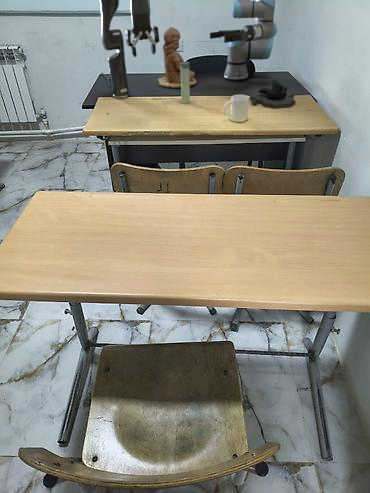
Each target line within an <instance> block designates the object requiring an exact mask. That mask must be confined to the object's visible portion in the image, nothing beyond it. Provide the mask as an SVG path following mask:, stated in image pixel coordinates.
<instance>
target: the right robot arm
mask: <svg viewBox="0 0 370 493" xmlns="http://www.w3.org/2000/svg"><path fill="white" fill-rule="evenodd" d="M231 10H232V11H231V16H232V18H233V19H240V20H241V19H254V23H253V24H246V25H244V26H243V27H242V28H241V29H229V30H228V29H227V30H225V29H223V30H221V29H219V30H218V31H212V32H209V39H210V40H212V39H222V38H223V43H224V44H227V59H226V60H227V61H226V62H227V63H226V67H225V70H224V73H223V79H224V80H227V81H231V82H241V81H245V80H247V79H248V78H249V72H248V67H247V61H250V60H251V61H253V60H254V61H255V60H256V61H258V60H259V61H262V60H268V59H269V58H270V57H271V54H272V50H273V45H274V37H276V35H277V32H278V27H277V23H276V22H274V18H275V10H276V0H235V1H233V2H232V8H231Z"/></svg>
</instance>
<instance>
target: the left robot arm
mask: <svg viewBox="0 0 370 493" xmlns="http://www.w3.org/2000/svg"><path fill="white" fill-rule="evenodd" d="M99 5H100V18H101V19H100V20H101V25H100V26H101V43H102V47H103V49H104V50H105V51H115V52H114V54H112V55H110V56H109V57H108V58H107V64H108V70H109V75H110V78H109V76H108V75H106V74H105V73H104V72H101V73H100V76H102V75H103V77H105V78H106V79H107V83H108V86H109V87H110V88H111V89H112V97H113V98H114V99H125V98H128V97H130V90H129V89H130V88H129V82H128V81H129V79H128V74H127V66H126V65H127V64H126V55H125V54H126V53H125V42H126V46H128V47H131V55H132V56H133V57H134V58H137V56H138V54H137V47H136V46H137V43H139V41H143V40H146V41H147V40H148V41H149V42H150V48H151V49H150V50H151V54H152V55H156V52H157V48H156V46H157V44H158V43H160V34H159V27H158V26H156V25H153V26H151V14H150V12H151V11H150V10H151V9H150V2H149V0H130V16H131V25H132V28H131V29H129V28H126V29H125V40H124V35H123V32H122V30H121V29H119V28H116V29H115V28H114V29H111V23H112V20H113V18H114V17H115V14H116V13H117V11H118V8H119V6H120V0H99ZM151 33H153V36H154V38H153V37H152V35H151ZM132 34H133V38H131V36H132ZM131 39H132V40H131ZM124 41H125V42H124Z"/></svg>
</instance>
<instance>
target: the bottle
mask: <svg viewBox="0 0 370 493" xmlns="http://www.w3.org/2000/svg"><path fill="white" fill-rule="evenodd" d="M189 71H190V67H189V68H181V87H180V91H181V92H180V96H181V104H190V103H191V89H190V88H191V86H190V79H189Z"/></svg>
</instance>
